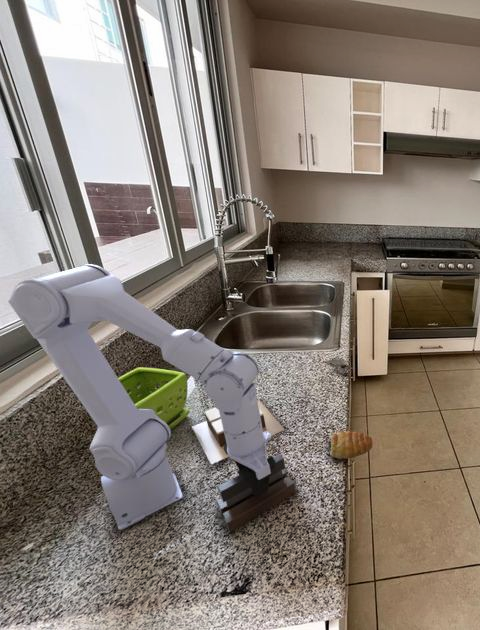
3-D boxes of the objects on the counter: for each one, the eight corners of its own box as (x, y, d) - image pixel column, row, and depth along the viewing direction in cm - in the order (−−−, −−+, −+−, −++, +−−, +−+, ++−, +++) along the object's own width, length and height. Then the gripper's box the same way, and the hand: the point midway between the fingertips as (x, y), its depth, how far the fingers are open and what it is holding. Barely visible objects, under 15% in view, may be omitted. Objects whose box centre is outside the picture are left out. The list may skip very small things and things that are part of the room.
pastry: (371, 436, 82) (371, 423, 80) (373, 457, 76) (373, 444, 74) (331, 440, 80) (329, 427, 79) (329, 463, 74) (328, 449, 72)
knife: (228, 522, 61) (220, 491, 58) (225, 516, 62) (217, 486, 59) (288, 487, 68) (283, 458, 65) (285, 482, 69) (280, 453, 66)
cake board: (211, 466, 72) (211, 464, 72) (191, 428, 83) (191, 426, 82) (285, 431, 83) (285, 429, 82) (259, 401, 93) (259, 399, 93)
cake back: (213, 434, 80) (209, 421, 78) (207, 425, 83) (204, 411, 81) (257, 416, 86) (254, 403, 85) (250, 407, 90) (248, 394, 88)
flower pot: (153, 407, 89) (139, 365, 85) (199, 415, 87) (188, 372, 82) (96, 445, 77) (77, 398, 72) (149, 455, 74) (133, 407, 70)
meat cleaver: (343, 358, 116) (328, 360, 115) (343, 355, 116) (328, 357, 114) (349, 375, 106) (332, 378, 104) (348, 371, 105) (332, 374, 104)
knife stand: (229, 533, 59) (227, 523, 58) (218, 510, 63) (216, 500, 62) (296, 492, 67) (294, 483, 66) (282, 474, 71) (281, 465, 70)
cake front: (220, 447, 76) (217, 433, 75) (214, 436, 79) (210, 422, 78) (265, 426, 83) (263, 413, 81) (258, 417, 86) (256, 404, 84)
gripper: (284, 434, 56) (293, 495, 61) (250, 395, 65) (261, 450, 70) (238, 456, 51) (252, 520, 56) (209, 411, 61) (224, 469, 66)
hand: (254, 483), depth 63 cm, fingers open, 5 cm apart
